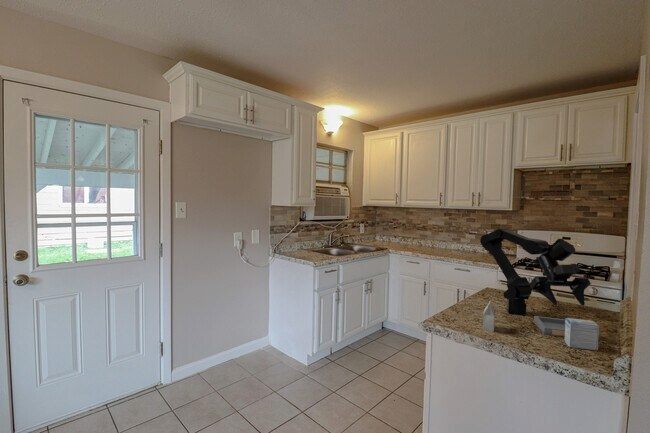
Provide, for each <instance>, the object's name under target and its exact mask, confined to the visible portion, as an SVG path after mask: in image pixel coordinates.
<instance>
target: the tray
mask: <svg viewBox="0 0 650 433" xmlns="http://www.w3.org/2000/svg"><path fill="white" fill-rule="evenodd" d="M565 320H566V318H565V319H564V318H563V319H562V318H556V317H555V318H554V317H548V316H547V317H546V316H538V315H534V316H533V323H534V324H535V325H536V326H537V328H538V329H539V330H540V331H541V332H542V333H543V335H544V336H545V335H546V336H554V337H562V338H565Z"/></svg>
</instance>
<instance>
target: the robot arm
mask: <svg viewBox="0 0 650 433" xmlns="http://www.w3.org/2000/svg"><path fill="white" fill-rule="evenodd" d="M505 240H506V241H508V242H510V243H513V244H514V245H517V246H519V247H521V248H522V249H523V250H524V252H526V253H528V255H529V254H530V255H533V256H535V255H539V256H536V257H535V259H534V262H533V263H534V264H537V265H540V266H541V269H542V271H543V272H542V276H540V275H536V276H534V277H533V279H532V280H531V281H530V282H529V280H528V278H527V277H526V276H523V277H522V276H520V275H519V274H518V273H517V271H516V269H515V268H514V266H513V265H512V263H511V262H510V260H509V258H508V257H507V255H506V254H505V252H504V251H503V248H502V246H503V242H504V241H505ZM479 241H480V242H479V243H480V245H481V246H482V247H483V248H484V250H486V251H487V252H488V253H490V254H491V256H492V257H493V259H494V261H495V262H496V264H497V265H498V267H499V269H500V271H501V272H502V274H503V275H504V277H505V279H506V288H507V289H506V290H505V291H503V298H504V299H506V308H505V311H506V312H507V313H508V314H510V315H519V316H526V315H527V314H526V313H527V303H526V300H529V298H530V296H531V295H532V293H533V292H532V291H535V292H537V293H539V294H540V295H542V296H543V297H545V298H546V299H547V300H549V301H550V302H551V303H552V304H553V305H554V306H557V304H558V302H557V298H556V297H555V295H554V293H553V289H552V288H551V287H552V286H553V287H569V288H570V290H571V293H572V295H573V296H574V297H575V299H576V300H577V302H578V303H579V304H580V305H581V306H585V301H586V300H585V290H586V289H587V288H588V287H589V286H591V285H592V283H591V280H590V278H588V277H577V276H576V277H574V279H572V280H569V279H570V278H571V276H572V275H576V274H577V273H579V272H580V267H579V265H578V264H577V263H570V264H559V262H558V261H560V262H564V261H565V260H566V259H568V258H569V257H571V256H572V255H573V254H575V252H576V248H575V246H574V245H573V244H571V243H570V242H568V241H565V239H563V238H557V239H556V240H555V242H553V243H552V244H549V242H548V241H546V240H545V239H544V240H543V239H540V238H539V239H538V238H531V237H527V236H524V235H522V234H519V233H517V232H514V231H511V230H509V229H508V228H497V229H495V230H494V231H491V232H489V233H487V234H483V235H481V237H480V240H479Z"/></svg>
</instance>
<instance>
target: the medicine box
mask: <svg viewBox="0 0 650 433" xmlns="http://www.w3.org/2000/svg"><path fill="white" fill-rule="evenodd" d="M565 319H566V320H565V337H564V344H566V345H567V346H568V347H569V348H574V349H575V348H576V349H581V350H588V351H589V350H591V351H598V349H599V333H600V332H599V331H600V330H599V329H600V325H599V324H597V322H595V321H594V320H588V319H579V318H571V317H570V318H569V317H566V318H565Z"/></svg>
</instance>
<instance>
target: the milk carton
mask: <svg viewBox="0 0 650 433" xmlns="http://www.w3.org/2000/svg"><path fill="white" fill-rule="evenodd" d="M495 310H496V309H495V308H494V307H493V304H492V300H489V302H488V304H486V307H485V308H484V310H483V314H482V331H484V332H489V333H494V330H495V322H496V311H495Z"/></svg>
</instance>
